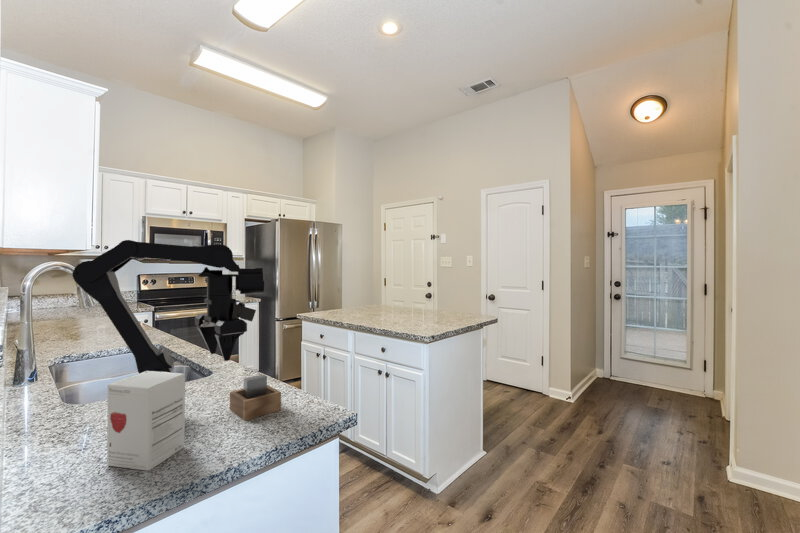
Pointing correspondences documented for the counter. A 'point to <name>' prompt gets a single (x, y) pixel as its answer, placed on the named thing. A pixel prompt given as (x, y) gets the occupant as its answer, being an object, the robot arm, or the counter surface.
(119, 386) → the supplement box
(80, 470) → the counter surface
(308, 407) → the counter surface
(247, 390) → the bracket
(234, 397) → the square frame
